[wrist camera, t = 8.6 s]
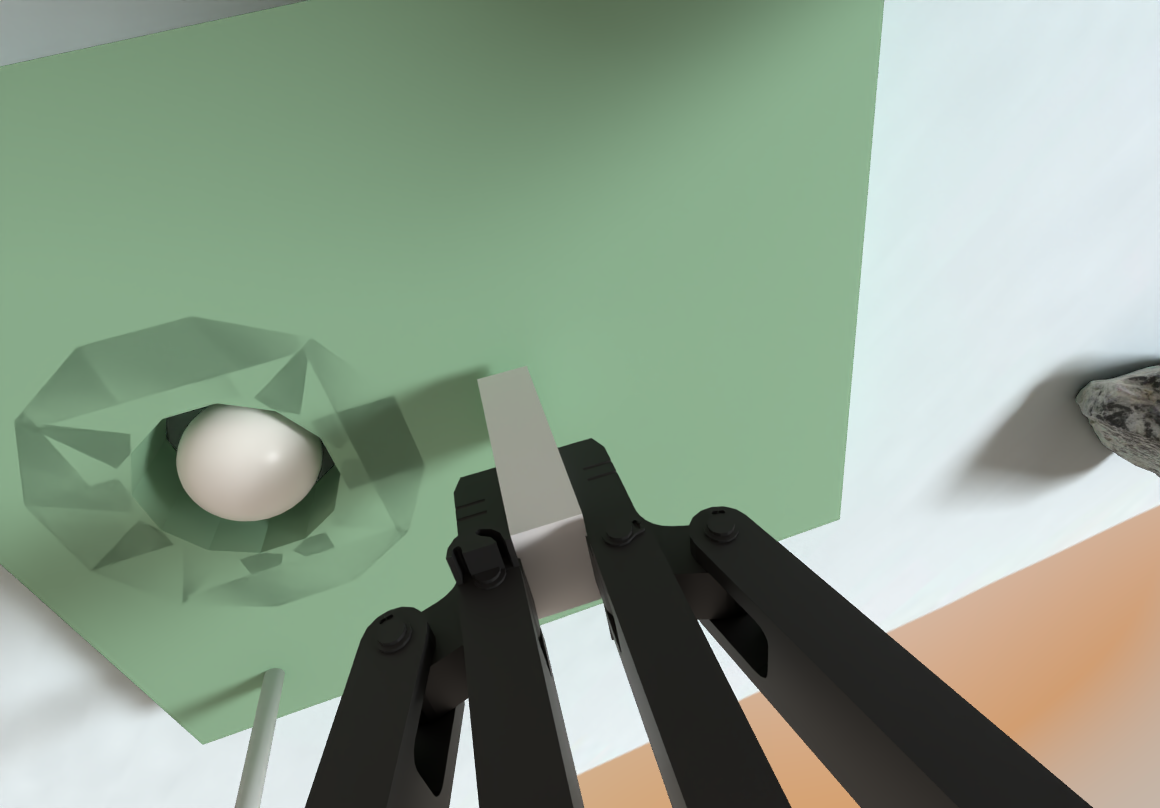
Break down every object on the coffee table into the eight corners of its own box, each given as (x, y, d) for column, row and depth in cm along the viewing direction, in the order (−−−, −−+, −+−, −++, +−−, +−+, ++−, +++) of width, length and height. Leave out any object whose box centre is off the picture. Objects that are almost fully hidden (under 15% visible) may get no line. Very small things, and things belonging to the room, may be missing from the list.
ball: (316, 369, 20) (228, 414, 21) (221, 379, 16) (119, 435, 17) (366, 475, 20) (277, 516, 21) (284, 511, 16) (180, 559, 17)
